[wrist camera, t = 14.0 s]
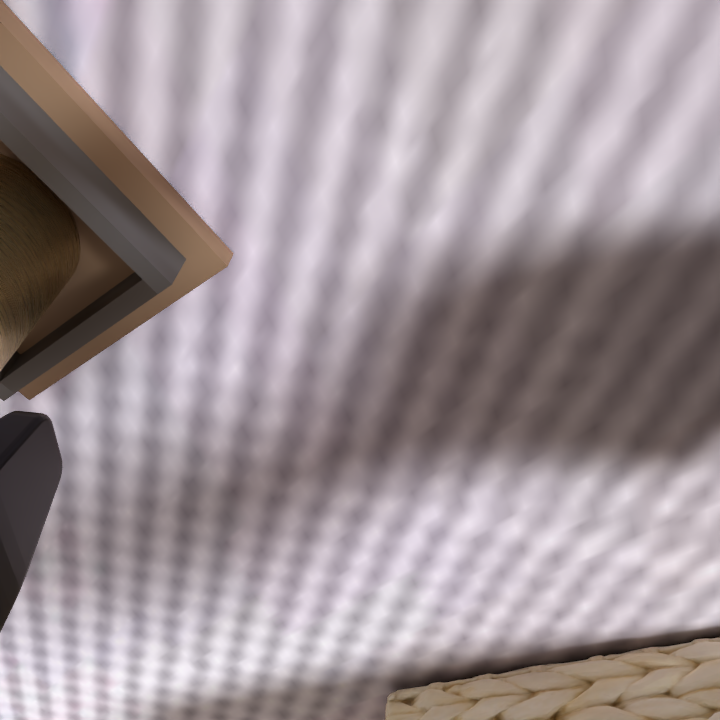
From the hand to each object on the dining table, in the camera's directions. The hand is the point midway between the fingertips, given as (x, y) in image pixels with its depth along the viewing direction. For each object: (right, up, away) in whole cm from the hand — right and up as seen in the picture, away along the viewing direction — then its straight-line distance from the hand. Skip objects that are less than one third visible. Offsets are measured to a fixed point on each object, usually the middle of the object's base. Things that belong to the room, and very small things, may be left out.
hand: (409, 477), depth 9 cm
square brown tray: (-12, +6, +13) cm, 18 cm away
